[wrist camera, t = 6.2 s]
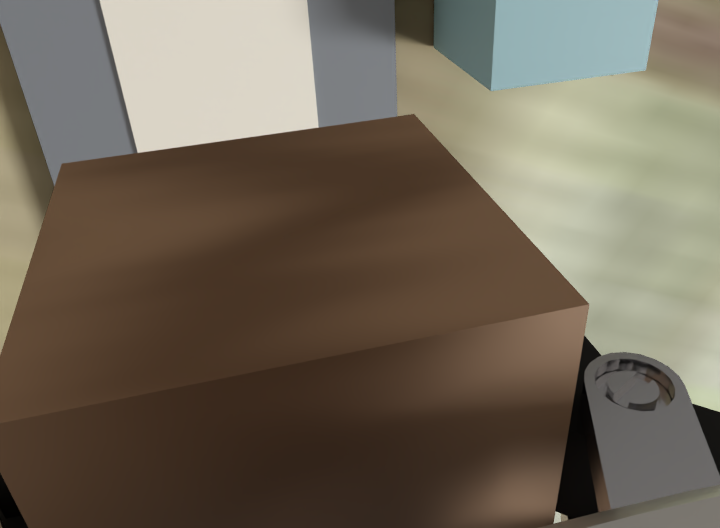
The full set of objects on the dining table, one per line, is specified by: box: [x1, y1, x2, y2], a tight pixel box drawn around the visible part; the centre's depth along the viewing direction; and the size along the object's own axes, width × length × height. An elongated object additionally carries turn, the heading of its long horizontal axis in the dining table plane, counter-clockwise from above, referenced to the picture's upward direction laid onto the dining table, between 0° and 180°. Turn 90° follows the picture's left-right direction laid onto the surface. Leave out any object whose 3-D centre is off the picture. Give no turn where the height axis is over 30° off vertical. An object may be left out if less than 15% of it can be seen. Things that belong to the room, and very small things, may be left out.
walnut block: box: [0, 114, 589, 528], centre depth 11 cm, size 6×6×6 cm
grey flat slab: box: [0, 0, 397, 186], centre depth 26 cm, size 14×15×1 cm
